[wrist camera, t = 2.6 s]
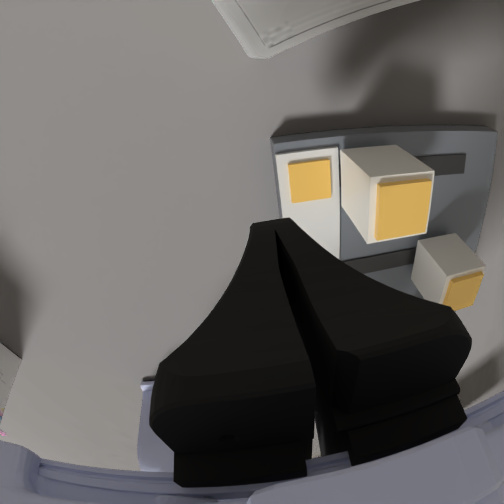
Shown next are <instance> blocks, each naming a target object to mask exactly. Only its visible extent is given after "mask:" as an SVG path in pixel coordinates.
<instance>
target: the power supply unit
mask: <svg viewBox="0 0 504 504" xmlns="http://www.w3.org/2000/svg"><path fill="white" fill-rule="evenodd" d="M211 1H212V3H213V4H214V5H215V7H216V8H217V10H218V11H219V13H220V14H221V15H222V17H223V18H224V20H225V21H226V23H227V24H228V26H229V27H230V29H231V30H232V32H233V33H234V35H235V36H236V38H237V39H238V41H239V42H240V44H241V46H242V47H243V49H244V50H245V52H246V53H247V55H248V56H249V57H250V58H256V59H268V58H270V57H272V56H274V55H276V54H278V53H280V52H282V51H284V50H287V49H289V48H291V47H293V46H295V45H297V44H300V43H302V42H304V41H306V40H308V39H311V38H313V37H315V36H318V35H320V34H322V33H325V32H327V31H330V30H332V29H335V28H337V27H340V26H342V25H345V24H348V23H350V22H353V21H356V20H359V19H361V18H364V17H367V16H370V15H373V14H376V13H379V12H382V11H385V10H388V9H391V8H395V7H398V6H402V5H405V4H409V3H412V2H416V1H420V0H211Z"/></svg>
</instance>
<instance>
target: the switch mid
mask: <svg viewBox="0 0 504 504" xmlns="http://www.w3.org/2000/svg"><path fill="white" fill-rule="evenodd" d="M485 268H486V265H485V264H484V263H483V262H482V261H481V260H480V258H479V257H478V256H477V255H476V254H475V253H474V252H473V251H472V250H471V249H470V248H469V247H468V245H467V244H466V243H465V242H464V241H463V240H462V239H461V238H460V237H459V236H458V235H457V234H456V233H453V234H447V235H442V236H437V237H432V238H427V239H421V240H418V242H417V248H416V254H415V259H414V265H413V270H412V275H411V280H412V281H413V283H414V284H415V286H416V287H417V289H418V290H419V292H420V293H421V295H422V296H423V298H424V299H425V300H428V301H432V302H436V303H439V304H443V305H446V306H450V307H451V308H452V309H453V310H454V311H456V310H459V309H462V308H465V307H468V306H471V305H473V303H474V300H475V298H476V295H477V292H478V290H479V287H480V284H481V281H482V278H483V276H484V271H485Z"/></svg>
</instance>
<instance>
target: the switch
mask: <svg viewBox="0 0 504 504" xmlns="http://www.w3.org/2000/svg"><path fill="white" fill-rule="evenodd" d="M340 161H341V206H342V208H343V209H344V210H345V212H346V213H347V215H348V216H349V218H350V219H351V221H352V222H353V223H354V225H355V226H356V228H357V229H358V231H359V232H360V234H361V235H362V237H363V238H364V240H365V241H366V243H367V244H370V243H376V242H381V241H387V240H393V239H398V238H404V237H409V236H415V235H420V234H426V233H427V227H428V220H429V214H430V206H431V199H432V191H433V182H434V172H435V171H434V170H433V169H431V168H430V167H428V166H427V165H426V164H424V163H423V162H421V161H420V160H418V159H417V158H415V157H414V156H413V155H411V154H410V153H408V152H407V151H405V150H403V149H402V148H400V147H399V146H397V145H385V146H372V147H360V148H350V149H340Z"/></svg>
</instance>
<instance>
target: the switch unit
mask: <svg viewBox="0 0 504 504" xmlns="http://www.w3.org/2000/svg"><path fill="white" fill-rule="evenodd" d="M497 133H498V132H497V131H495V130H493V129H491V128H488V127H486V126H466V125H413V126H386V127H368V128H354V129H341V130H330V131H320V132H311V133H302V134H294V135H286V136H278V137H271V138H270V140H271V148H272V156H273V164H274V172H275V180H276V188H277V196H278V205H279V214H280V219H282V218H288V217H289V218H291V219H292V220H293V221H294V222H295V223H296V224H297V225H298V226H299V227H300V228H301V229H302V230H304V231H305V232H306V233H307V234H308V235H309V236H310V237H311V238H312V239H314V240H315V241H316V242H317V243H318V244H320V245H321V246H322V247H323V248H324V249H326V250H327V251H328V252H330V253H331V254H332V255H334V256H335V257H336V258H338V259H339V260H341V261H342V262H344V263H345V264H347V265H349V266H350V267H352V268H354V269H355V270H357V271H359V272H360V273H362V274H364V275H366V276H368V277H370V278H372V279H374V280H376V281H378V282H380V283H383V284H385V285H387V286H389V287H392V288H394V289H396V290H399V291H401V292H404V293H407V294H410V295H412V296H415V297H418V298H421V299H424V298H423V296H422V295H421V293H420V292H419V290H418V289H417V287H416V286H415V284H414V283H413V281H412V280H411V275H412V270H413V265H414V259H415V254H416V248H417V242H418V240H421V239H427V238H432V237H437V236H442V235H447V234H453V233H456V234H457V235H458V236H459V237H460V238H461V239H462V240H463V241H464V242H465V243H466V244H467V245H468V247H469V248H470V249H471V250H472V251H473V252H474V253H475V251H476V247H477V243H478V240H479V236H480V232H481V228H482V224H483V219H484V215H485V210H486V206H487V201H488V196H489V190H490V185H491V179H492V173H493V166H494V159H495V151H496V143H497ZM385 145H397V146H399V147H400V148H402V149H403V150H405V151H407V152H408V153H410V154H411V155H413V156H414V157H415V158H417V159H418V160H420V161H421V162H423V163H424V164H426V165H427V166H428V167H430V168H431V169H433V170H434V171H435V172H434V182H433V191H432V199H431V206H430V214H429V220H428V227H427V233H426V234H420V235H415V236H409V237H404V238H398V239H393V240H387V241H381V242H376V243H370V244H367V243H366V241H365V240H364V238H363V237H362V235H361V234H360V232H359V231H358V229H357V228H356V226H355V225H354V223H353V222H352V221H351V219H350V218H349V216H348V215H347V213H346V212H345V210H344V209H343V208H342V206H341V161H340V149H350V148H360V147H372V146H385ZM454 312H456V311H454Z"/></svg>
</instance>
